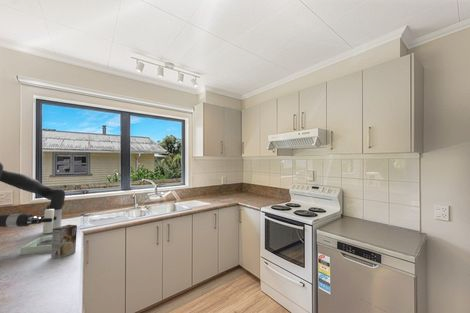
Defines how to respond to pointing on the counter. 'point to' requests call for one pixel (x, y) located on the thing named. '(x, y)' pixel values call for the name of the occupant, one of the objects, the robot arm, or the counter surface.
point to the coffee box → (63, 241)
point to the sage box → (38, 246)
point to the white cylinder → (48, 225)
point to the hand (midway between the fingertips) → (53, 219)
